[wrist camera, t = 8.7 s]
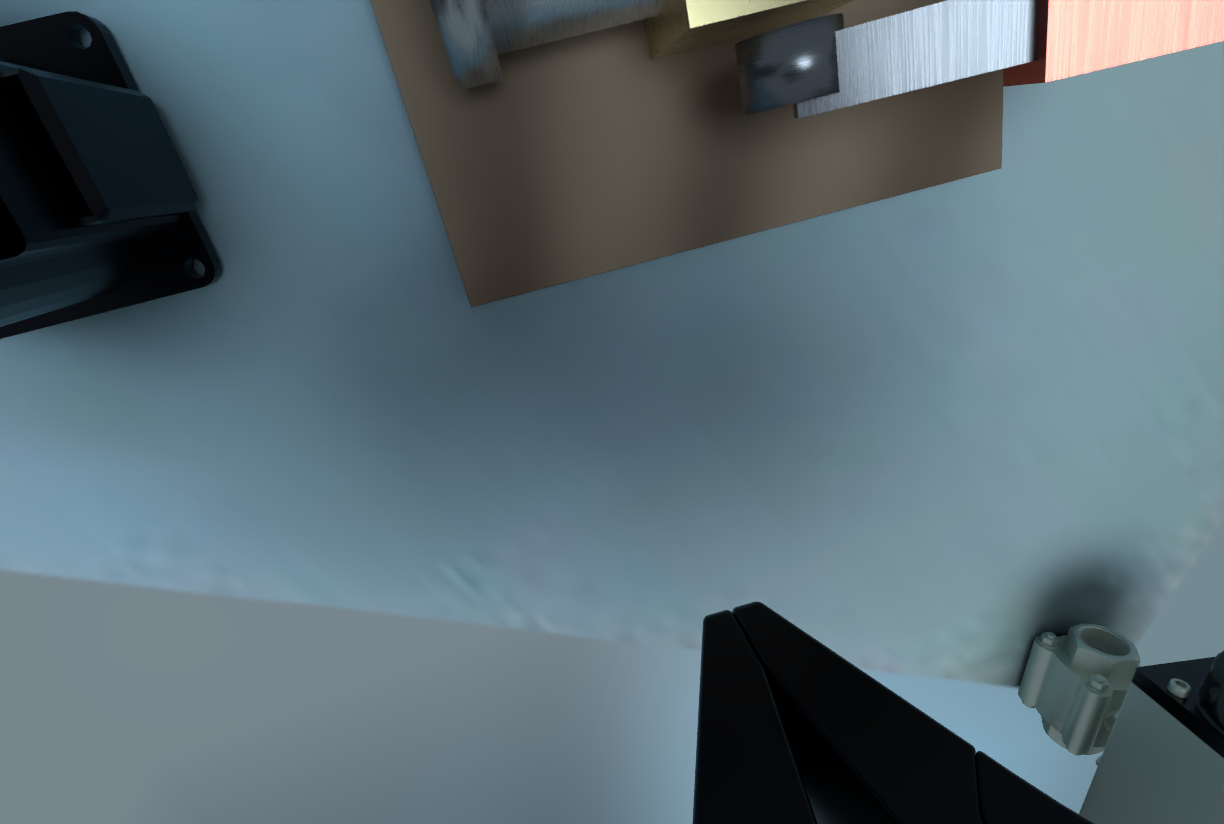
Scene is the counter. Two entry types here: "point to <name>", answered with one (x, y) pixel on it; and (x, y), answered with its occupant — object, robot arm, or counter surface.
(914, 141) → the mounting board
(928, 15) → the lever
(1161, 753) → the pneumatic valve
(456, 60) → the valve body
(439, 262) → the counter surface
